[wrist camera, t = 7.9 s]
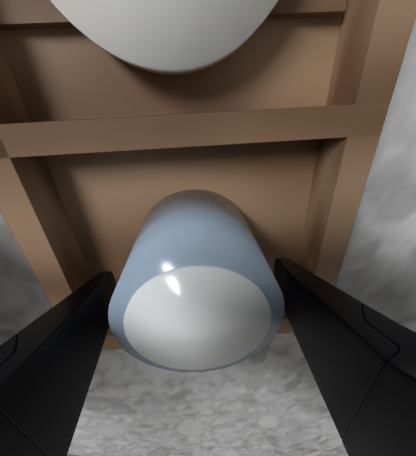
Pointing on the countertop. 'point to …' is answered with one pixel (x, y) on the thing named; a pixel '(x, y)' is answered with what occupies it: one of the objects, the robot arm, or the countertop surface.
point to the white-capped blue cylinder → (195, 287)
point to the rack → (193, 135)
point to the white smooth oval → (167, 30)
